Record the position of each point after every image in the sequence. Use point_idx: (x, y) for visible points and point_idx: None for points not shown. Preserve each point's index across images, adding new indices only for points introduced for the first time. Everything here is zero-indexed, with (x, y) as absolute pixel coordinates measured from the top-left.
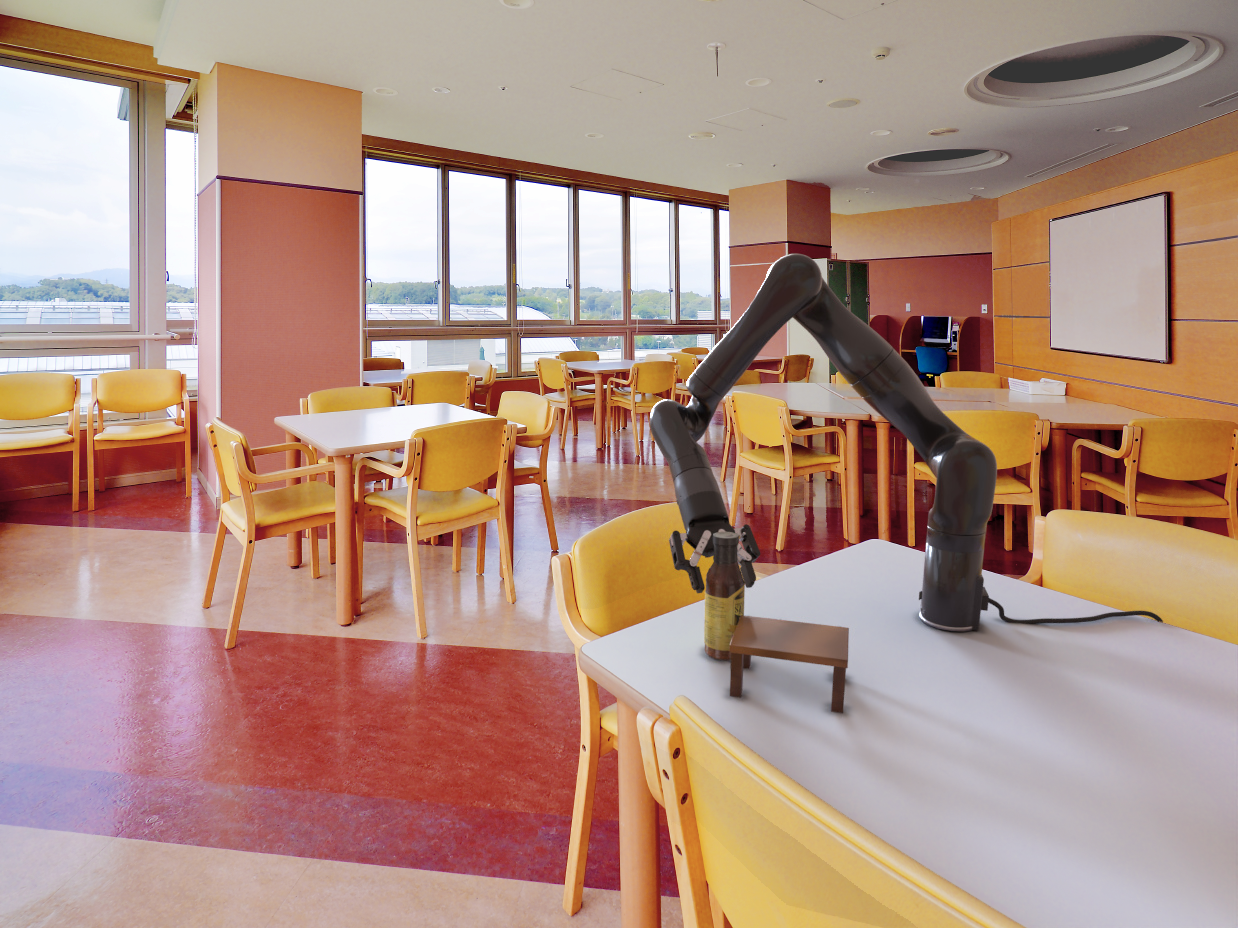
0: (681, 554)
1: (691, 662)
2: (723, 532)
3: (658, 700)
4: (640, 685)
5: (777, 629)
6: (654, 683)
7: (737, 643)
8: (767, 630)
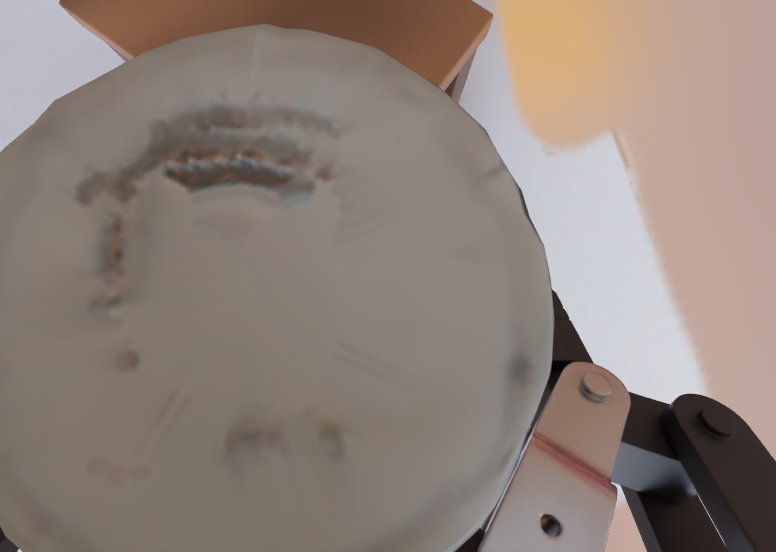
0: (745, 488)
1: None
2: (199, 521)
3: (605, 149)
4: (624, 220)
5: None
6: (591, 218)
7: (466, 13)
8: None
